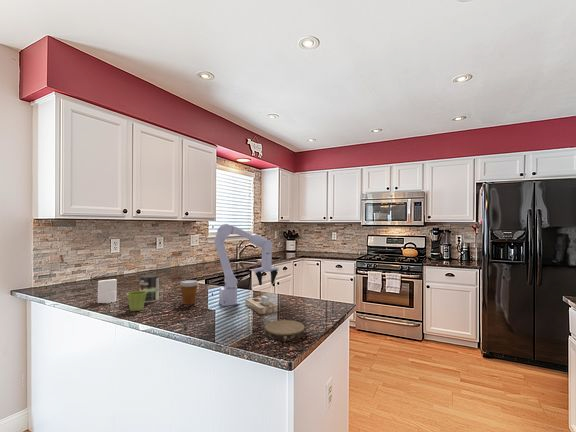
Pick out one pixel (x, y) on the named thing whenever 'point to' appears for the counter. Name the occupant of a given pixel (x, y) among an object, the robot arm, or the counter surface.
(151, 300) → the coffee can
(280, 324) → the round tan disc
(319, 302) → the counter surface
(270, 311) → the slotted wooden frame
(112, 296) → the white rectangular block
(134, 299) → the plant pot
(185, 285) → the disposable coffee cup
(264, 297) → the steel bracket tab
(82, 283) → the counter surface
